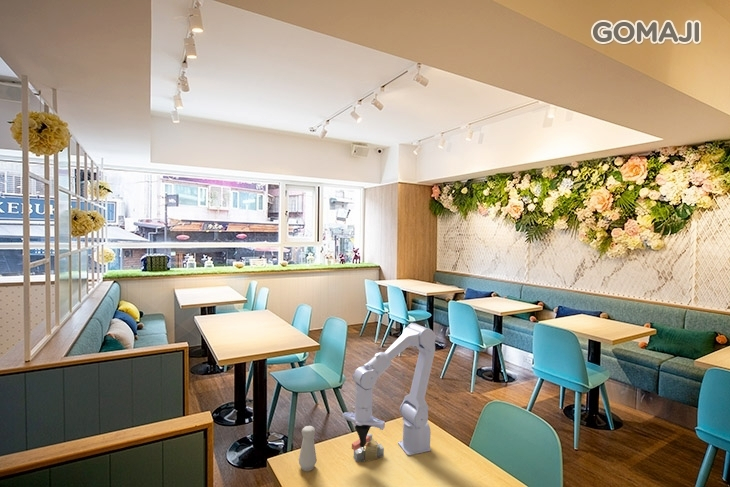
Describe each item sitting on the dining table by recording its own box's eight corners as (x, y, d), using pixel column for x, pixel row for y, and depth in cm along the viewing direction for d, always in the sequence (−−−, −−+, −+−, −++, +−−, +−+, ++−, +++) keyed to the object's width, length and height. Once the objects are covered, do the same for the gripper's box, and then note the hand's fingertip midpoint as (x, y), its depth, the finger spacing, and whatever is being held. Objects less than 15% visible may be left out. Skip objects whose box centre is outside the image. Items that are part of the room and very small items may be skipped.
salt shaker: (312, 474, 114) (313, 434, 113) (295, 471, 115) (296, 431, 115) (318, 463, 120) (319, 424, 119) (302, 460, 121) (303, 422, 120)
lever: (368, 437, 125) (369, 432, 125) (373, 439, 124) (373, 434, 124) (351, 448, 118) (351, 443, 118) (355, 450, 117) (355, 446, 117)
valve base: (379, 450, 128) (380, 434, 128) (384, 457, 124) (385, 441, 123) (352, 455, 124) (353, 439, 124) (357, 463, 120) (357, 446, 120)
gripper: (338, 405, 119) (337, 446, 119) (379, 414, 113) (378, 457, 113) (348, 396, 125) (346, 435, 125) (387, 405, 119) (386, 446, 119)
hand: (362, 445), depth 119 cm, fingers closed, pressing on lever
